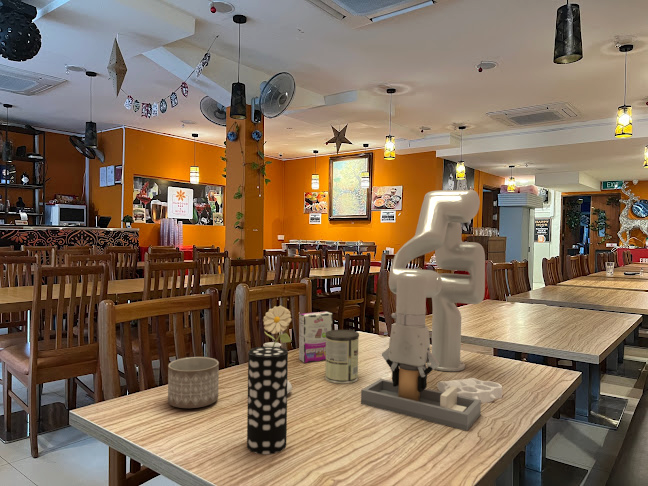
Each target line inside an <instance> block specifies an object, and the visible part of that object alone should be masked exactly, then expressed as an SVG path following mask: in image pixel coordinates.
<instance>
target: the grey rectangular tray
mask: <svg viewBox="0 0 648 486" xmlns="http://www.w3.org/2000/svg"><path fill="white" fill-rule="evenodd" d="M398 386H399V385H397V386H396V387H395V386H393V382H392V380H388V379H384V378H379V379H378V380H376V381H374V382H372V383H371V384H369V385H367V386H366V387H364V388H361V391H360V405H361V404H362V405H365V406H368V407H373V408H377V409H380V410H384V411H388V412H392V413H396V414H399V415H404V416H408V417H412V418H416V419H419V420H424V421H427V422H432V423H435V424H440V425H444V426H447V427H450V428H455V429H459V430H463V431H469V429H470V428H471V427H472V425H474V423H475V422H476V421H477V420H478V418H479V417H480V416H481V409H482V408H481V407H482V403H481V400H477V399H473V398H468V397H464V396H459V395H457V405H459V406H464V407H467V409H466V411H465V412H461V411H457V410H453V409H449V408H444V407H440V395H441V394H443V393H444V392H441V391H440V390H435V389H430V388H427V387H426V388H425V389H424V390H423V391H422V392H420V402H419V401H414V400H410V399H406V398H401V397H398Z"/></svg>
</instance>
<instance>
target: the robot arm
mask: <svg viewBox="0 0 648 486" xmlns="http://www.w3.org/2000/svg"><path fill="white" fill-rule="evenodd" d="M480 205H481V201H480V196H479V194H478V192H477V191H476V190H473V189H441V190H440V189H439V190H432V191H428V192H427V193H425V195H424V198H423V201H422V204H421V208H420V213H419V217H418V222H417V226H416V228H415V234H414V236H413V237H411V239H409V240H407V242H405V243H404V244H403V245H402V246H401V247H400V248H399V249H398V251H397V252H396V253H395V254H394V257H393V259H392V262H391V266H390V271H389V277H388V287H389V290H390V292H392V293H393V294H395V295H396V299H395V300H396V306H395V308H396V309H395V310H396V311H395V312H392V313H391V318H392V319H394V321H395V322H394V323H392V326H391V330H390V337H389V343H388V348H386V349H385V350H384V351H383V352H382V353H381V357H382V358H383V359H384V361H385V362H386V364H387V365H388V367H389V369H390V371H391V372H392V373H391V376H392V377H391V381H392V382H393V386H395V387H396V386H397V385H399V363H400V364H406V365H411V366H417V367H418V370H419V372H420V376H419V377H418V391H419V392H422V391H423V390H424V389H425V388H426V389H427V383H428V382H427V381H428V375H429V374H430V373H431V372H432V371H434V370H435V371H436V370H437V371H442V372H462V371H463V370H465V368H466V364H465V363H464V362H463V361H461V347H462V346H461V345H462V344H461V342H462V313H461V311H460V310H459V308H458V307H457V306H456V304H468V305H479V304H480V303H482V302H483V301H484V299H485V293H486V291H485V290H486V289H485V288H486V254H485V249H484V247H483V246H482V244H480V243H479V242H475V241H473V242H471V241H470V242H469V241H463V240H462V224H465V223H469V222H470V221H471V220H473V219H474V218H475V217H476V215H477V214H478V212H479V209H480ZM432 252H435V253H434V257H435V264H436V266H437V267H438V268H439V269H441V270H449V271H460V272H461V271H462V272H464V271H465V272H467V273H468V274H461V273H460V274H459V273H447V272H444V273H438V272H437V271H436V270H432V269H421V268H406V267H407V265H408V264H409V263H410V262H411V261H413V260H415V259H416V258H418V257H421V256H424V255H426V254H429V253H432ZM427 298H429V299H430V298H431V302H432V303H431V304H432V306H431V307H432V320H431V321H432V322H431V323H432V325H431V338H430V331H429V326H428V325H426V313H427V312H426V311H427V310H426V309H427V308H426V307H427V305H426V302H427ZM430 339H431V340H430Z"/></svg>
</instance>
